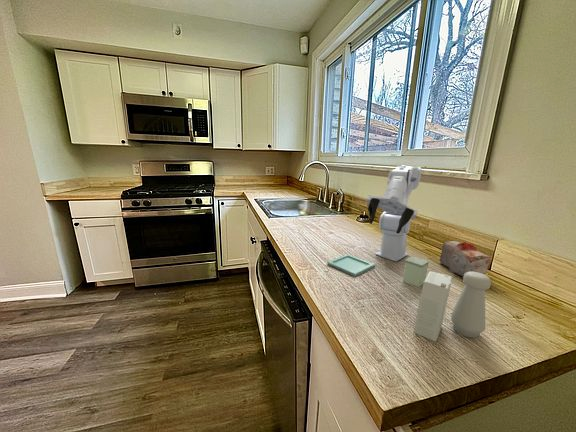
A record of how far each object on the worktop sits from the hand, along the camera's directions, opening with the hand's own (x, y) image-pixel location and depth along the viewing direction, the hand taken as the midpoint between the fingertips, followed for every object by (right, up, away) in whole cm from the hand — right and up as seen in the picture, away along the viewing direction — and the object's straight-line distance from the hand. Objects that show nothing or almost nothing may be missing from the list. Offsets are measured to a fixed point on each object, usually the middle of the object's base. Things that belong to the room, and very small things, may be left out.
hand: (384, 226), depth 67 cm
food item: (+28, -15, +10) cm, 34 cm away
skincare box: (+2, -21, -17) cm, 28 cm away
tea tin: (+10, -16, +3) cm, 19 cm away
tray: (-6, -14, +12) cm, 20 cm away
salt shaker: (+10, -21, -17) cm, 29 cm away
